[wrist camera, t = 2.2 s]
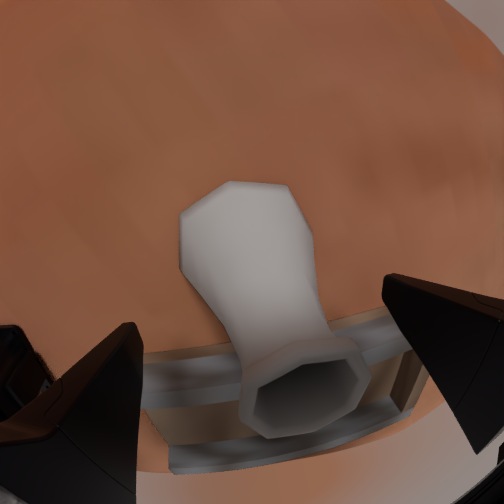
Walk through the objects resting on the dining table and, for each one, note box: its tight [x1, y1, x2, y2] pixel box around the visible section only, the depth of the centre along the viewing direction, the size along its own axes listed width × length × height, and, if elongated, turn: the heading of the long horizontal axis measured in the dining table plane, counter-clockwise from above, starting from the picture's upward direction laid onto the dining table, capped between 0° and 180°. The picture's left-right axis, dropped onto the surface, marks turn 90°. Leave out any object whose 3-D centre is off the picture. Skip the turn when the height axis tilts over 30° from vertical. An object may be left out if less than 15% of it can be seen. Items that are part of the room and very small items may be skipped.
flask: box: [179, 181, 372, 439], centre depth 10 cm, size 7×7×10 cm
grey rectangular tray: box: [140, 306, 430, 475], centre depth 18 cm, size 22×12×4 cm, turn 96°
